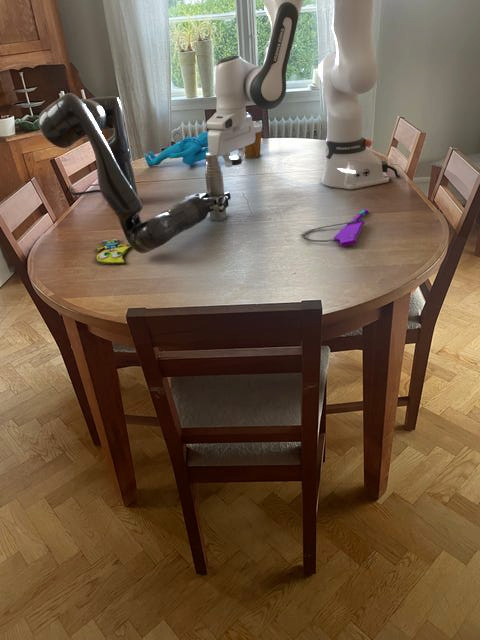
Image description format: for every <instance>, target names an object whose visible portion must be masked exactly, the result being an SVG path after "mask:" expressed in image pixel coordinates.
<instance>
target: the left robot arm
mask: <svg viewBox="0 0 480 640" xmlns="http://www.w3.org/2000/svg"><path fill="white" fill-rule="evenodd" d="M37 119H38V121H37V122H38V127H39V130H40V132H41V134H42V135H43V137H44V138H45V139H46V140H47V142H49V143H50V144H52V145H53V146H55V147H57V148H61V149H67V148H70V147H71V146H73V145H75V144H77V142H79V141H80V140H82V139H86V138H87V139H88V141H89V142H90V145H91V147H92V150H93V154H94V158H95V163H96V173H97V181H98V183H97V184H98V187H99V189H91V190H86V191H79V192H75V191H73V190H72V186H70V185H69V186H68V192H69V193H70V194H71V195H73V196H81V195H88V194H93V193H101V194H102V197H103V198H104V200H105V201H106V203H107V204H108V205H109V207H110V209H111V210H112V212H114V215H116V216H117V219H118V221H119V224H120V227H121V230H122V232H123V234H124V237H125V239H126V241H127V244H128V245H129V246H131V247H132V248H131V249H132V250H134V251H135V252H137V253H140V254H147V253H149V252H152V251H153V250H155V249H157V248H159V247H162V246H163V245H165V244H167V243H168V242H170V241H171V240H172V239H174V237H176V236H178V235H180V234H182V233H183V232H185V231H188V230H189V229H192V228H193V227H194V226H197V225H198V224H200V223H202V222H203V221H205V219H206V218H207V216H208V214H209V213H210V212H211V211H213V210H215V209H218V210H219V212H223V211H224V210H225V209H226V210H227V208H228V207H229V205H230V203H229V200H231V192H230V191H226V192H224V194H223V195H221V196H218V197H216V196H213V197H210V198H208V194H207V192H202V193H200V192H197V193H193V194H191V195H188V196H185V197H183V198H182V200H180V201H178V202H177V203H175V204H174V205H172V206H171V207H169V208H168V209H165V210H164V211H162V212H161V213H159V214H157V215H155V216H153V217H151V218H149V219H147V220H144V221H143V222H142V219H141V217H140V212H142V211H143V209H144V203H143V202H142V200H141V199H140V197H139V194H138V188H137V183H136V178H135V173H134V169H133V164H132V158H131V154H130V148H129V144H128V143H129V142H128V137H127V132H126V126H125V119H124V112H123V106H122V103H121V100H120V99H119V97H117V95H116V96H115V95H111V96H109V95H108V96H99V97H92V98H79V96H77V95H76V94H74V93H72V92H67V93H65V94H63V95H62V96H60V97H59V98H58V99H56V100H55V101H53V102H52V103H51V104H49V105H48V106H47V107H46V108H44V109H43V110H42V111H41V112H40V114H38V118H37ZM105 130H106V131H107V130H113V134H112V135H111V136H110V137H108V138H107V139H105V137H104V135H103V134H102V131H105ZM219 199H220V202H218V200H219ZM213 200H214V201H213Z"/></svg>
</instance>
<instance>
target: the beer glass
mask: <svg viewBox="0 0 480 640" xmlns="http://www.w3.org/2000/svg"><path fill="white" fill-rule="evenodd" d="M254 128H255V142H254V143H252V144H250V145H247V146H245V152H244V157H245V158H248V159H249V158H251V159H252V158H253V159H254V158H258V157H260V156H261V144H262V131H263V126H262V124H261V123H254Z"/></svg>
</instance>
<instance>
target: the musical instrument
mask: <svg viewBox="0 0 480 640" xmlns="http://www.w3.org/2000/svg"><path fill="white" fill-rule="evenodd" d="M367 214H369V210H368V209H367V208H364V209H362V210H361V211H359V212H358V214H357V215H356V216H355V217H353V219H352V220H350V221H347V222H342V223H337V224H330V225H325V226H320V227H316V228H312V229H310V230H307V231H305V232H304V233H302V234H301V238H302V239H304V240H305V241H309V242H313V243H314V242H316V243H328V242H336V243H339V244H340V246H341V247H342V248H343V247H347V246H348V247H349V246H354V245H355V244H356V242H357V240H358V238H359V236H360V235H361V234H360V233H361V232H362V229H363V227H364V224H365V220H362V219H361V218H363V217H364V216H365V215H367ZM340 225H345V226H344V227H343V228H342V229H340V231H338V233H336V235H334V236H333V239H311V238H308V237H306V235H307V234H308V233H311V232H314V231H316V230H320V229H324V228H330V227H336V226H340Z"/></svg>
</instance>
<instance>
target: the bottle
mask: <svg viewBox="0 0 480 640" xmlns="http://www.w3.org/2000/svg"><path fill="white" fill-rule="evenodd" d="M205 160H206V162H205V171H204V175H205V177H204V178H205V185H206V191H207V192H206V193H207V194H208V198H210V197H213V196H216V197H218V196H221V195H223V194H224V193H225V186H224V185H225V184H224V176H223V175H224V174H223V170H222V167H221V164H220V161H219V157H218V153H216V152H211V153H207V154H206V159H205ZM213 201H214V200H213ZM218 202H220V199H219V200H218ZM227 216H228V215H227V208H226V209H225V210H224V211H223V212H219V210H218V209H215V210H213V211H211V212H209V218H210V219H209V220H211V221H216V222H217V221H223V220H226V219H227Z"/></svg>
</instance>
